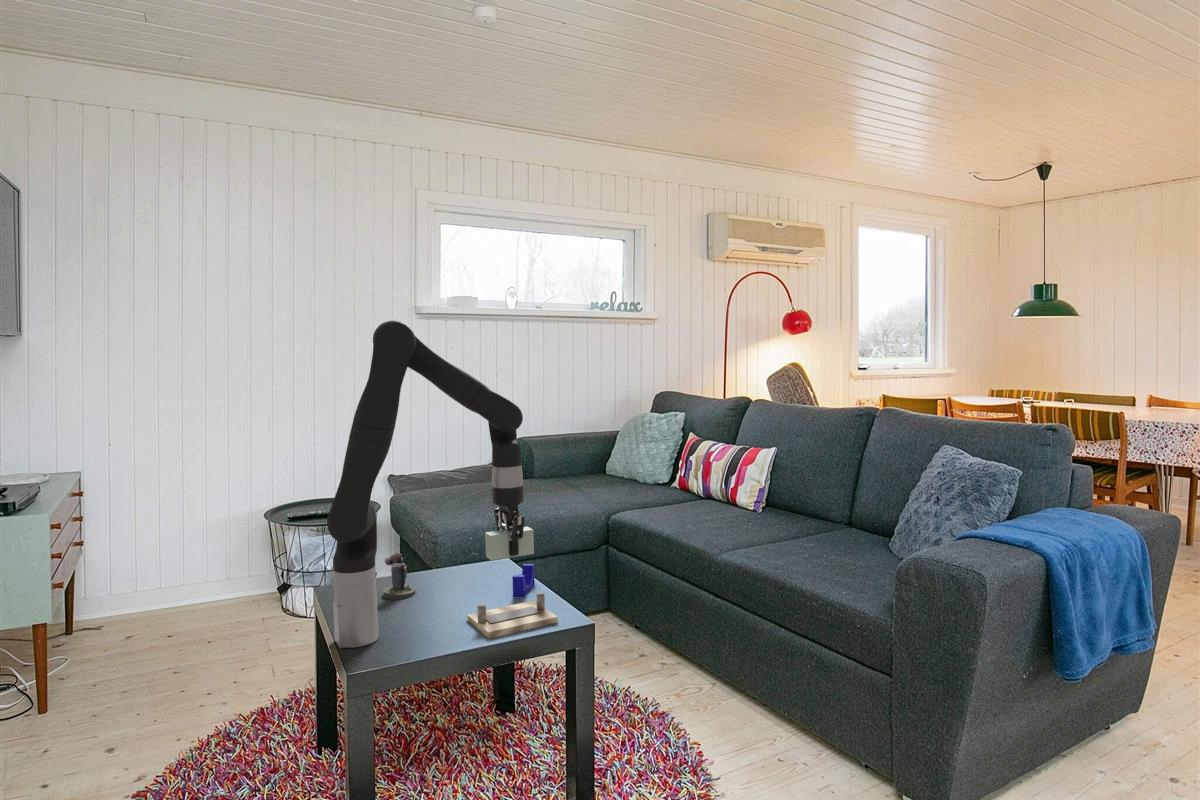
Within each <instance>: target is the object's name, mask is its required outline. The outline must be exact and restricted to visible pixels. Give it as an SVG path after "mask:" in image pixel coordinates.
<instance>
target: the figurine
mask: <svg viewBox="0 0 1200 800" xmlns="http://www.w3.org/2000/svg"><path fill="white" fill-rule="evenodd" d="M405 558H406V557H403V555H402V553H399V552H395V553H393V554H391V556H389V557H386V558H385V559H384V563H385V565H387V566H391V570H390V572H391V586H388V587H386V588H384V589H383V598H384V599H387V598H388V599H387V600H402V598H404V599H408V598H411V597H412V595H413V596H414V595H416V587H414V586H413V585H411V584H406V579H407V576H408V574H407V569H408V567H407V566H406V563H404V562H406V561H405ZM410 596H411V597H410ZM407 597H408V598H407Z"/></svg>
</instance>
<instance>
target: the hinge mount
mask: <svg viewBox="0 0 1200 800" xmlns="http://www.w3.org/2000/svg"><path fill="white" fill-rule="evenodd" d="M535 594H536V595H535V596H536V601H535V600H530V601H525V602H521V603H516V604H511V605H506V606H502V607H496V608H492V609H487V605H486V604H483V603H481V604H478V605H477V606H476V607H477V612H472V613H468V614H467V622H469V623H470V624H471V625H472V626H473V627H475V628H476V629H477V631H479V632H480V633H481V634H482V635H484V637H486V638H487V639H492V638H498V637H502V636H506V635H511V634H515V633H519V631H520V632H524V631H528V630H532V629H531V628H533V629H535V628H534V627H537V628H540V627H539V626H541V627H545V626H544V625H546V626H549V625H548V624H550V625H553V624H554V623H555V624H558V623H559V617H558V616H557V615H556V614H554V613H553V612H552V611H550V610H548V609H547V608H546V606H545V604H546V603H545V601H546V600H545V598H546V597H545V596H546V595H545V592H537V593H535ZM527 629H528V630H527ZM523 630H524V631H523Z"/></svg>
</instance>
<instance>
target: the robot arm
mask: <svg viewBox="0 0 1200 800" xmlns="http://www.w3.org/2000/svg"><path fill="white" fill-rule="evenodd" d="M372 335H373V336H372V343H373V345H372V347H373V348H372V357H371V363H370V370H369V375H368V378H367V382H366V384H365V387H364V389H363V391H362V394H361V396H360V399H359V400H358V404H357V406H356V409H355V413H354V416H353V418H352V419H353V421H352V424H351V427H350V428H351V429H350V432H349V437H348V442H347V446H346V451H345V455H344V460H343V465H342V472H341V477H340V481H339V485H338V487H337V490H336V493H335V496H334V499H333V501H332V503H331V507H330V508H329V512H328V515H327V519H326V525H327V530H328V532H329V535H330V537H332V538H333V539H334V540H335V541H336V549H335V552H334V556H333V557H332V558H333V560H332V570H333V587H334V589H333V591H334V592H333V593H334V599H333V601H332V606H333V607H332V608H333V610H332V611H333V630H334V631H333V632H334V641H335V643H336V645H337V646H338V648H339V649H345V648H348V649H349V648H351V649H352V648H353V649H354V648H361V647H364V646H365V647H366V646H369V645H371V644H373V643H375V642H376V641H377V640H378V639H379V618H378V598H377V576H376V575H377V573H376V555H377V549H378V527H377V525H378V521H377V513H376V509H375V508H374V505H373V503H372V502H371V497H372V496H371V495H372V493H373V492H372V491H373V490H374V489H373V488H374V485H375V482H376V480H377V477H378V476H379V473H380V471H381V469H382V467H383V465H384V462H385V460H386V458H387V456H388V453H389V451H390V447H391V444H392V440H393V437H394V432H395V428H396V423H397V418H398V412H399V406H400V405H399V404H400V399H401V397H400V396H401V390H402V385H403V381H404V378H405V376H406V373H407V370H408V368H409V369H411V370H412V371H414V372H416V373H417V374H419V375H420V376H422V377H423V378H424V379H426V380H427V381H429V382H430V383H431V384H433V386H435V387H436V388H438V389H439V390H440V391H442V393H444V394H445V395H447V396H448V397H450V398H451V399H452V400H454V401H455V402H457V403H458V404H460V405H461V406H463V407H464V408H466V409H467V410H469V411H471V412H473V413H476V414H478V415H480V417H482V418H484V419H485V420H486V421H487V422H488V430H489V431H488V432H489V437H490V441H491V442H490V443H491V449H492V450H491V463H492V464H491V465H492V468H491V469H492V470H491V490H492V491H491V492H492V493H491V494H492V495H491V496H492V503H493V505H495V506H498V507H497V508H494V509H493V514H494V516H493V517H494V520H495V521H494V522H495V526H496V527H495V528H496V529H495V530H496V531H499V530H506V531H507V532H508V538H509V555H510V556H516V555H518V554H519V547H518V540H519V539H522V538H523V529H524V527H525V516H524V515H521V516H520V511H519V506H520V504H521V505H522V503H524V501H525V499H524V498H525V497H524V496H525V495H524V478H523V477H524V475H523V474H524V473H523V468H522V467H523V466H522V450H521V444H520V443H519V441H518V438H517V435H518V434H517V430H518V429H519V428H520V427H521V425H522V423H523V419H524V417H523V412H522V410H521V409H520V407H519V406H518V405H517V404H515V403H514V402H513V401H510V400H509V399H508V398H506V397H504V396H502V395H501V394H499V393H497V392H496V391H493V390H492V389H491V388H489V387H488V386H487V385H485V384H484V383H483V382H482V381H480V380H479V379H477V378H476V377H474V376H473V375H471V374H470V373H468V372H467V371H466V370H463V369H462V368H460V367H458V366H457V365H455V364H453V363H452V362H451V361H448V360H446V359H445V358H444V357H442V356H440V355H439V354H437V353H436V352H434V351H433V350H432V349H431V348H430V347H428V346H427V345H426V344H425V343H424V342H422V341H421V340H420V339H419V338H418V337H417V336H416V335H415V332H414V330H413V329H412V328H411V327H410V326H409V325H408V324H406V323H405V322H402V321H400V320H388V321H384V322H382V323H381V324H379V325H378V326H377V328H375V330H374V332H373V334H372ZM511 531H512V533H511Z"/></svg>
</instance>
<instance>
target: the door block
mask: <svg viewBox="0 0 1200 800" xmlns="http://www.w3.org/2000/svg"><path fill="white" fill-rule="evenodd" d="M511 533H512V531H511ZM484 535H485V536H484V538H485V539H484V540H485V541H484V542H485V557H486V558H487V559H488V560H490V561H496V560H503V559H510V558H516V557H517V558H518V557H523V556H529V555H534V554H535V543H534V541H535V539H534V529H533V528H531V527H529V526H524V529H523V538H522V539H519V540H518V547H519V554H518V555H516V556H510V555H509V538H508V532H507V531H506V530H499V531H497V530H493V531H486V532H484Z"/></svg>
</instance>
